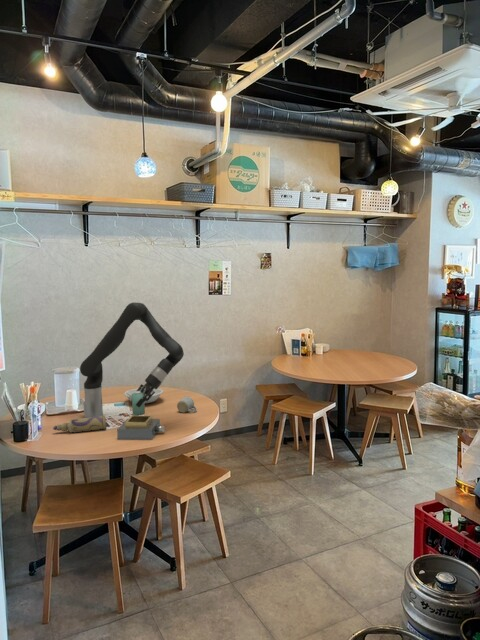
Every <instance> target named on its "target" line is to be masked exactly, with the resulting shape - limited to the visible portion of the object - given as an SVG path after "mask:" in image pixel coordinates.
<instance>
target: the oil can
mask: <svg viewBox="0 0 480 640" xmlns="http://www.w3.org/2000/svg"><path fill="white" fill-rule="evenodd" d="M125 392H126V391H125ZM126 394H127V395H129V396H130V397H131V398H132V402H131V408H132V416H144V415H145V414H146V407H145V406H146V405H145V404H146V403H144V402H143V404H142V405H141V406H140V407H137V406H136V404H137V402H138V401H139V400H140V399H141V397H142V392H140V391H136V392H135V393H133V394H132V395H131V394H130V393H128V392H126Z"/></svg>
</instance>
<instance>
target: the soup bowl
mask: <svg viewBox="0 0 480 640" xmlns="http://www.w3.org/2000/svg"><path fill="white" fill-rule="evenodd" d="M138 388H139V387H137V388H132V389H128V390H126V391H124V393H123V396H125V397H127V399H128V400H129V401H130V402H131V401H132V398H131V397H130V396H129V395H127V394H126V392H128V393H130V394H131V395H132V394H133V393H135V392H136V391H137V390H138ZM153 391H154V392H155V393H154V394H153V395H152V397H151V398H150V399H149V400H148V401H145V402H144V403H145V404H150V403H153V402H155V401H157V400H158V399H159V398H160V396H161V395H162V394H163V393H164V390H163V389H162V388H159V387H158V388H157V389H153Z"/></svg>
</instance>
